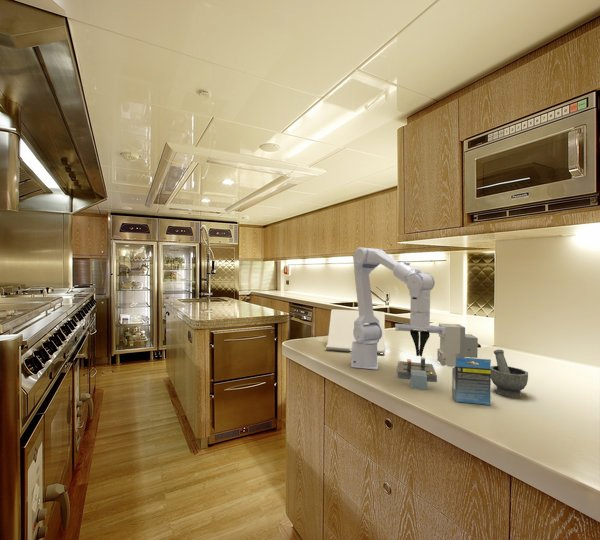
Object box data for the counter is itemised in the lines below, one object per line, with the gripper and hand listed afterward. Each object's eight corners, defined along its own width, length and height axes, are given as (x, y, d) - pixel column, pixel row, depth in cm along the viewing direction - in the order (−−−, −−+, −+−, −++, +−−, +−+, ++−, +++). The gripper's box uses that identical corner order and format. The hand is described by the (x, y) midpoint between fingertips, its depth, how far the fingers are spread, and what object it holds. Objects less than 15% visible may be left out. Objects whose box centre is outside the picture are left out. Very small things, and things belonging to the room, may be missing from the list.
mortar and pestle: (536, 400, 91) (536, 357, 91) (502, 399, 91) (503, 356, 91) (510, 386, 103) (511, 348, 103) (480, 385, 103) (481, 347, 103)
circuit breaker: (482, 368, 122) (482, 328, 122) (441, 365, 125) (442, 326, 125) (475, 362, 129) (476, 325, 129) (437, 360, 132) (438, 323, 132)
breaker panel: (398, 377, 108) (398, 370, 108) (397, 366, 122) (397, 359, 122) (436, 381, 105) (436, 374, 105) (431, 369, 119) (432, 363, 119)
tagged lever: (407, 369, 110) (407, 360, 110) (406, 367, 113) (407, 358, 113) (411, 369, 110) (411, 361, 110) (410, 367, 112) (411, 359, 112)
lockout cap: (411, 388, 99) (411, 374, 99) (410, 382, 104) (410, 369, 104) (426, 389, 98) (427, 376, 98) (425, 383, 103) (425, 371, 103)
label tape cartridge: (485, 400, 91) (486, 356, 91) (490, 405, 87) (491, 359, 87) (451, 396, 93) (452, 353, 93) (454, 402, 89) (455, 356, 89)
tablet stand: (331, 343, 160) (332, 308, 160) (383, 347, 154) (384, 311, 154) (325, 351, 142) (326, 313, 142) (384, 356, 136) (385, 316, 137)
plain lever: (421, 366, 115) (421, 357, 115) (420, 364, 117) (420, 356, 117) (425, 366, 114) (425, 358, 114) (424, 364, 117) (424, 356, 117)
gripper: (395, 311, 99) (394, 356, 99) (447, 314, 95) (446, 360, 95) (395, 309, 106) (394, 351, 106) (443, 311, 102) (442, 355, 102)
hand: (419, 355), depth 101 cm, fingers closed
